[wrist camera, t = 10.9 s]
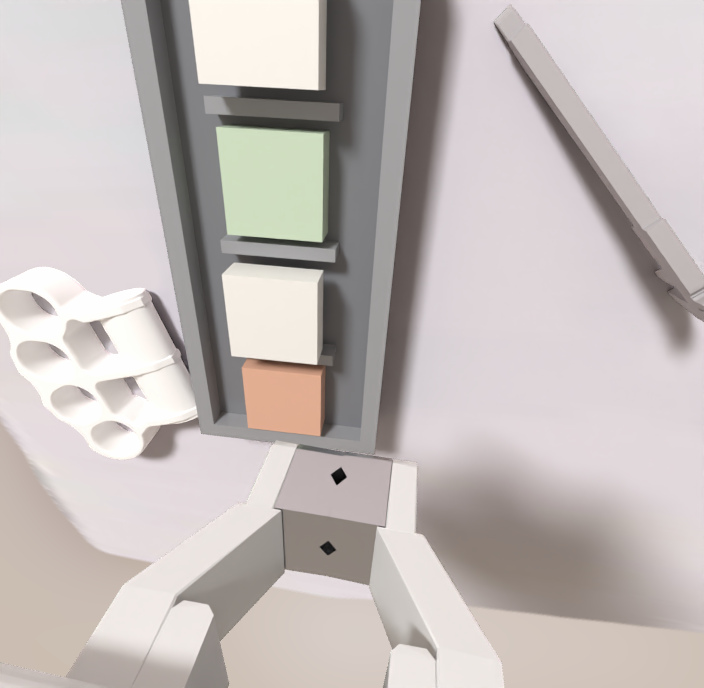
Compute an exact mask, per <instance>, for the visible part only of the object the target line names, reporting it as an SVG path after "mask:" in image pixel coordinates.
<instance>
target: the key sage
mask: <svg viewBox="0 0 704 688" xmlns="http://www.w3.org/2000/svg"><path fill="white" fill-rule="evenodd" d="M216 133H217V142H218V152H219V161H220V170H221V180H222V189H223V198H224V208H225V217H226V226H227V235H239V236H251V237H263V238H276V239H288V240H300V241H312V242H323V240H324V238H325V237H326V235H327V233H328V200H329V142H330V130H314V129H298V128H282V127H266V126H250V125H234V124H229V125H224V126H219V127H216Z"/></svg>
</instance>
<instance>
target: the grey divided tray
mask: <svg viewBox="0 0 704 688" xmlns="http://www.w3.org/2000/svg"><path fill="white" fill-rule="evenodd" d="M121 4H122V10H123V15H124V20H125V26H126V31H127V37H128V42H129V47H130V53H131V58H132V63H133V69H134V74H135V80H136V85H137V90H138V96H139V101H140V107H141V112H142V117H143V123H144V128H145V134H146V139H147V144H148V150H149V155H150V161H151V166H152V171H153V177H154V182H155V188H156V193H157V198H158V204H159V209H160V214H161V220H162V225H163V231H164V236H165V241H166V247H167V252H168V258H169V263H170V268H171V274H172V279H173V285H174V290H175V295H176V301H177V306H178V312H179V317H180V322H181V328H182V333H183V339H184V344H185V349H186V355H187V360H188V365H189V371H190V376H191V382H192V387H193V392H194V398H195V403H196V409H197V414H198V419H199V425H200V430H201V434H207V435H215V436H224V437H232V438H241V439H249V440H258V441H266V442H275V441H276V440H278V441H284V442H289V443H295V444H303V445H308V446H314V447H319V448H325V449H334V450H342V451H351V452H359V453H368V454H375V444H376V434H377V425H378V415H379V405H380V395H381V386H382V376H383V366H384V356H385V346H386V337H387V327H388V317H389V307H390V298H391V288H392V278H393V268H394V259H395V249H396V239H397V229H398V220H399V210H400V200H401V190H402V181H403V171H404V161H405V151H406V141H407V132H408V122H409V112H410V102H411V93H412V83H413V73H414V63H415V54H416V44H417V34H418V24H419V15H420V5H421V0H327V23H326V90H306V89H288V88H270V87H252V86H234V85H216V84H199V82H198V74H197V66H196V57H195V49H194V41H193V33H192V24H191V16H190V8H189V0H121ZM229 124H234V125H250V126H266V127H282V128H298V129H314V130H330V142H329V200H328V233H327V235H326V237H325V238H324V240H323V242H312V241H300V240H288V239H276V238H263V237H251V236H239V235H227V226H226V217H225V208H224V198H223V189H222V180H221V170H220V161H219V152H218V142H217V133H216V127H219V126H224V125H229ZM233 263H246V264H257V265H269V266H281V267H292V268H304V269H315V270H324V271H323V349H322V352H321V355H320V358H319V361H318V364H317V365H326V376H325V420H324V424H323V428H322V432H321V436H313V435H305V434H296V433H287V432H279V431H270V430H262V429H253V428H248V422H247V413H246V404H245V394H244V385H243V376H242V366H243V365H244V363H245V361H246V360H247V358H246V357H236V356H231V348H230V340H229V332H228V323H227V315H226V307H225V298H224V290H223V282H222V274H223V273H224V272H225V271H226V270H227V269H228V268H229V267H230V266H231V265H232V264H233Z"/></svg>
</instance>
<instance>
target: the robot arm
mask: <svg viewBox="0 0 704 688" xmlns="http://www.w3.org/2000/svg"><path fill="white" fill-rule="evenodd" d="M417 490H418V464H417V462H411V461H405V460H398V459H393V460H392V458H385V457H378V456H371V455H364V454H357V453H350V452H341V451H335V450H330V449H324V448H319V447H314V446H308V445H303V444H295V443H289V442H284V441H278V440H276V441H275V442H274V443H273V444H272V446H271V448H270V450H269V452H268V454H267V457H266V459H265V461H264V463H263V466H262V468H261V470H260V472H259V474H258V477H257V479H256V481H255V483H254V486H253V488H252V490H251V492H250V495H249V497H248V499H247V501H246V503H237V504H236V505H234V506H233V507H231V508H230V509H229V510H227V511H226V512H224V513H223V514H222V515H220V516H219V517H217V518H216V519H215V520H213V521H212V522H210V523H209V524H207V525H206V526H205V527H203V528H202V529H200V530H199V531H198V532H196V533H195V534H193V535H192V536H191V537H189V538H188V539H186V540H185V541H184V542H182V543H181V544H179V545H178V546H177V547H175V548H174V549H172V550H171V551H170V552H168V553H167V554H165V555H164V556H163V557H161V558H160V559H158V560H157V561H156V562H154V563H153V564H152V565H150V566H149V567H147V568H146V569H145V570H143V571H142V572H140V573H139V574H137V575H136V576H135V577H133V578H132V579H130V580H129V581H128V582H126V583H125V584H124V585H123V586H122V587H121V589H120V591H119V592H118V594H117V596H116V597H115V599H114V600H113V602H112V604H111V605H110V607H109V608H108V610H107V612H106V613H105V615H104V617H103V618H102V620H101V621H100V623H99V625H98V626H97V628H96V629H95V631H94V633H93V634H92V636H91V637H90V639H89V640H88V642H87V644H86V645H85V647H84V649H83V650H82V652H81V653H80V655H79V657H78V658H77V660H76V662H75V663H74V665H73V666H72V668H71V669H70V671H69V672H68V674H67V676H66V677H61V676H57V675H53V674H48V673H44V672H40V671H35V670H31V669H27V668H22V667H18V666H14V665H9V664H5V663H1V662H0V688H228V686H229V681H228V676H227V672H226V667H225V663H224V659H223V655H222V650H221V645H220V641H221V640H222V639H223V637H224V636H225V635H226V634H227V633H228V632H229V631H230V630H231V629H232V628H233V627H234V626H235V625H236V623H238V622H239V620H240V619H241V618H242V617H243V616H244V615H245V614H246V613H247V612H248V611H249V610H250V609H251V608H252V607H253V606H254V604H255V603H256V602H257V601H258V600H259V599H260V598H261V597H262V596H263V595H264V594H265V593H266V592H267V590H268V589H269V588H270V587H271V586H272V585H273V584H274V583H275V582H276V581H277V580H278V579H279V578H280V577H281V576H282V575H283V573H284V572H285V570H284V569H286V570H292V571H299V572H305V573H311V574H317V575H324V576H329V577H334V578H338V579H343V580H347V581H352V582H357V583H361V584H366V585H369V589H370V592H371V594H372V597H373V599H374V602H375V605H376V607H377V610H378V613H379V615H380V618H381V620H382V623H383V625H384V628H385V631H386V634H387V636H388V639H389V641H390V644H391V647H392V651H391V653H390V658H389V663H388V667H387V672H386V677H385V681H384V685H383V688H505V687H504V678H503V670H502V663H501V661H500V659H499V657H498V656H497V654H496V652H495V651H494V649H493V647H492V646H491V644H490V642H489V641H488V639H487V638H486V636H485V634H484V633H483V631H482V629H481V628H480V626H479V624H478V623H477V621H476V620H475V618H474V616H473V615H472V613H471V611H470V610H469V608H468V606H467V605H466V603H465V601H464V600H463V598H462V597H461V595H460V593H459V592H458V590H457V588H456V587H455V585H454V583H453V582H452V580H451V579H450V577H449V575H448V574H447V572H446V570H445V569H444V567H443V565H442V564H441V562H440V560H439V559H438V557H437V556H436V554H435V552H434V551H433V549H432V547H431V546H430V544H429V542H428V541H427V539H426V538H425V536H424V535H422V534H417V533H416V520H417Z"/></svg>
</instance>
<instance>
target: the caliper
mask: <svg viewBox="0 0 704 688" xmlns="http://www.w3.org/2000/svg"><path fill="white" fill-rule="evenodd" d="M494 23H495V25H496V27H497V28H498V30H499V31H500V32H501V34H502V35H503V37H504V38H505V39H506V41H507V42H508V45H509V47H510V49H511V50H512V52H513V53H514V55H515V56H516V58H517V59H518V61H519V63H520V64H521V66H522V67H523V69H524V70H525V72H526V73H527V75H528V76H529V77H530V79H531V80H532V82H533V83H534V84H535V86H536V87H537V89H538V90H539V92H540V93H541V94H542V96H543V97H544V99H545V100H546V102H547V103H548V104H549V106H550V107H551V109H552V110H553V112H554V113H555V114H556V116H557V117H558V119H559V120H560V122H561V123H562V124H563V126H564V127H565V129H566V130H567V131H568V133H569V134H570V136H571V137H572V139H573V140H574V141H575V143H576V144H577V146H578V147H579V149H580V150H581V151H582V153H583V154H584V156H585V157H586V159H587V160H588V161H589V163H590V164H591V166H592V167H593V169H594V170H595V171H596V173H597V174H598V176H599V177H600V179H601V180H602V181H603V183H604V184H605V186H606V187H607V189H608V190H609V191H610V193H611V194H612V196H613V197H614V199H615V200H616V202H617V203H618V204H619V206H620V207H621V209H622V210H623V212H624V213H625V214H626V216H627V217H628V219H629V220H630V222H631V223H632V224H633V225H632V226H631V228H632V229H633V231H634V232H635V233H636V235H637V236H638V237H639V239H640V240H641V242H642V243H643V245H644V246H645V248H646V249H647V250H648V252H649V253H650V254H651V255H652V257H653V258H654V259H655V260H656V261H657V262H658V264H659V265H660V267H661V268H660V269H659V270H657V271H655V274H656V275H657V277H658V278H660V279H662V280H663V281H664V282H666V283H668V284H670V285H672V286H675V288H673V289H671V290H669V291H668V293H669V295H670V296H671V297H672V298H673V299H674V300H675V301H676V302H678V303H679V304H680V305H681V306H683V307H684V308H685V309H686V310H688V311H689V312H690V313H692V314H693V315H694V316H695V317H697V318H698V319H700V320H702V321H703V322H704V275H703V273H702V272H701V271H700V269H699V268H698V266H697V265H696V263H695V262H694V260H693V259H692V257H691V256H690V255H689V253H688V252H687V250H686V249H685V247H684V246H683V244H682V243H681V242H680V240H679V239H678V237H677V236H676V234H675V233H674V231H673V230H672V229H671V227H670V226H669V224H668V223H667V221H666V220H665V219H663V218H661V216H660V215H659V213H658V212H657V211H656V209H655V208H654V206H653V205H652V203H651V202H650V200H649V199H648V197H647V196H646V194H645V193H644V192H643V190H642V189H641V187H640V186H639V184H638V183H637V181H636V180H635V178H634V177H633V176H632V174H631V173H630V171H629V170H628V168H627V167H626V165H625V164H624V162H623V161H622V159H621V158H620V157H619V155H618V154H617V152H616V151H615V149H614V148H613V146H612V145H611V143H610V142H609V140H608V139H607V138H606V136H605V135H604V133H603V132H602V130H601V129H600V127H599V126H598V124H597V123H596V121H595V120H594V119H593V117H592V116H591V114H590V113H589V111H588V110H587V108H586V107H585V105H584V104H583V102H582V101H581V100H580V98H579V97H578V95H577V94H576V92H575V91H574V89H573V88H572V86H571V85H570V84H569V82H568V81H567V79H566V78H565V76H564V75H563V73H562V72H561V70H560V69H559V68H558V66H557V65H556V63H555V62H554V60H553V59H552V57H551V56H550V54H549V53H548V51H547V50H546V49H545V47H544V46H543V44H542V43H541V41H540V40H539V38H538V37H537V35H536V34H535V33H534V31H533V30H532V28H531V27H530V25H529V24H527V25H526V24H525V23H524V21H523V20H522V18H521V17H520V15H519V14H518V13H517V11H516V10H515V8H513V7H512V5H509V6H508V7H507V8H506V9H505V10H504V11H503V12H502V13H501V14H500V15H499V16H498V17H497V18H496V19H495V20H494Z"/></svg>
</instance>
